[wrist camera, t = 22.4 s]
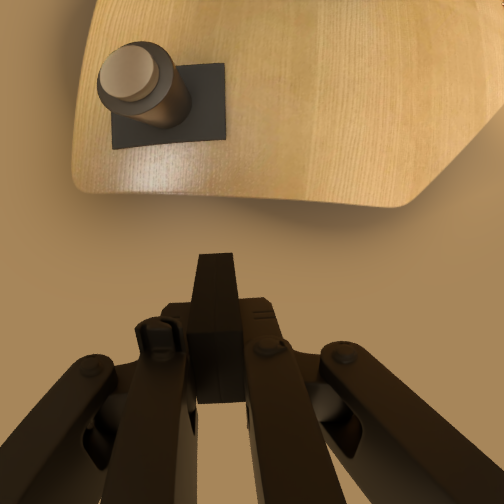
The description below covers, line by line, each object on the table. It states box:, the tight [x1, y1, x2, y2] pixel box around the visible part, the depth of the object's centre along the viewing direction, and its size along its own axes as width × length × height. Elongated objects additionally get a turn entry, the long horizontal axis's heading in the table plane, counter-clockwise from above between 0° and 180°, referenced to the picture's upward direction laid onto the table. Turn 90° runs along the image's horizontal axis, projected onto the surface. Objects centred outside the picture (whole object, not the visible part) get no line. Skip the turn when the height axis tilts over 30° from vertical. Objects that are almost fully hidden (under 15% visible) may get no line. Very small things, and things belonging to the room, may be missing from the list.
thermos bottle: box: [97, 41, 192, 129], centre depth 23 cm, size 6×6×16 cm
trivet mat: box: [111, 63, 226, 149], centre depth 31 cm, size 13×9×1 cm
